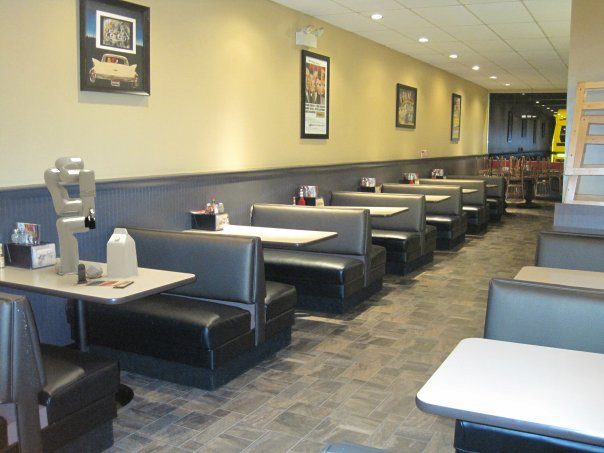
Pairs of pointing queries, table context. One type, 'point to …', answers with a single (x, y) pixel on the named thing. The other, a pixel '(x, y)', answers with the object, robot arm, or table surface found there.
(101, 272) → the white faceted ball
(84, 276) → the pawn
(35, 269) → the table surface
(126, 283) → the game board
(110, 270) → the milk
